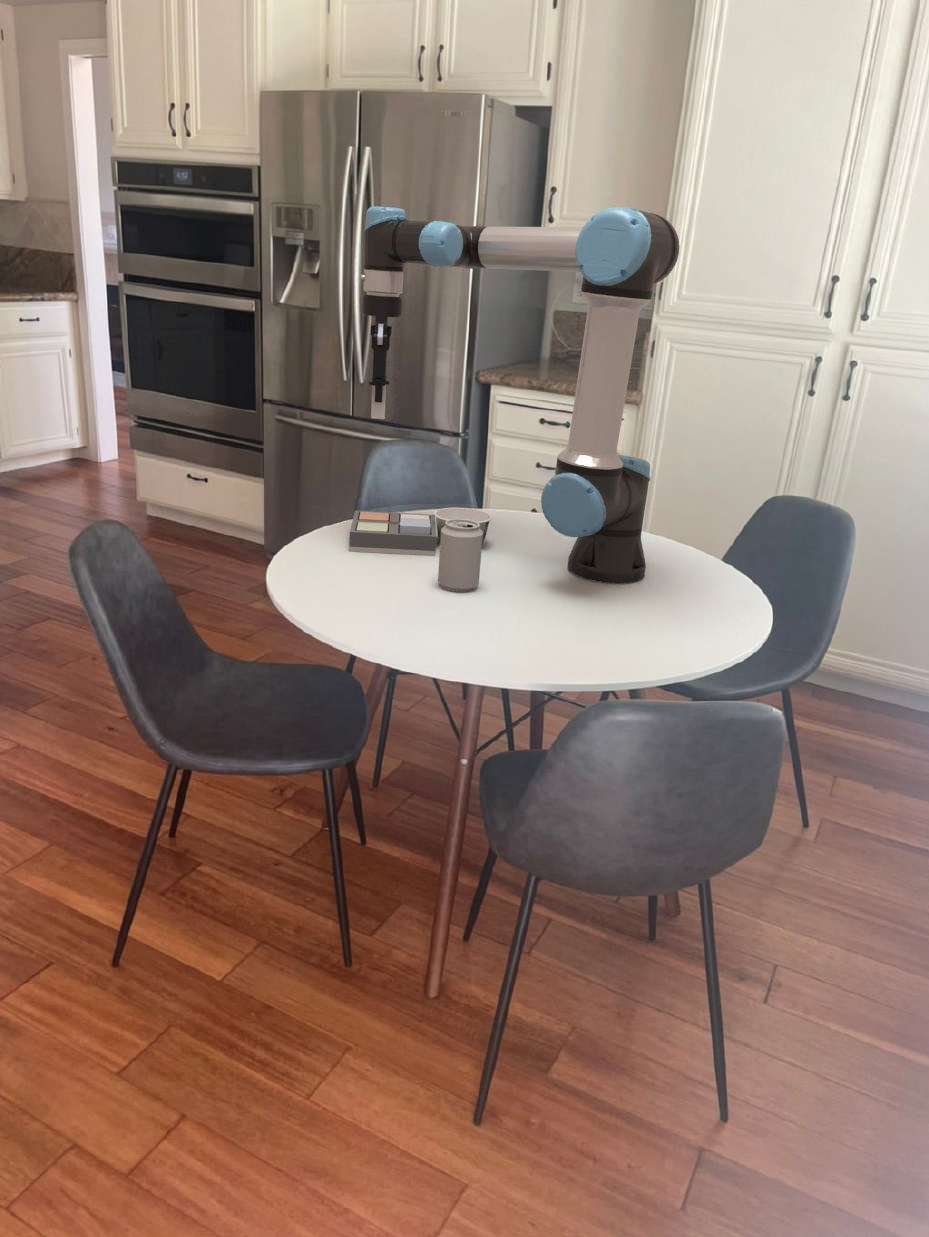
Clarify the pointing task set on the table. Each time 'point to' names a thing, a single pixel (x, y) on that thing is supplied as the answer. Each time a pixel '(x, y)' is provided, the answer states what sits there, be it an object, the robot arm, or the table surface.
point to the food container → (462, 513)
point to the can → (460, 555)
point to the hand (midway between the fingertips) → (377, 418)
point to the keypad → (392, 538)
